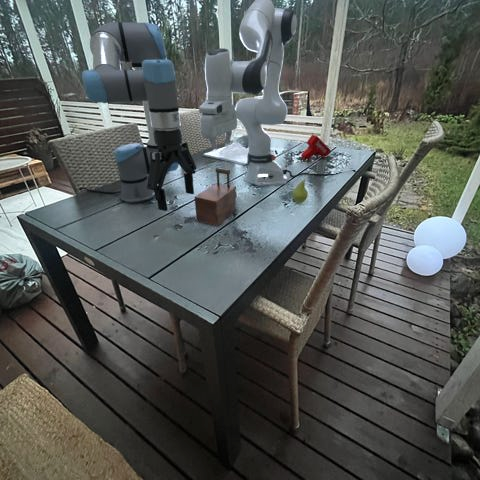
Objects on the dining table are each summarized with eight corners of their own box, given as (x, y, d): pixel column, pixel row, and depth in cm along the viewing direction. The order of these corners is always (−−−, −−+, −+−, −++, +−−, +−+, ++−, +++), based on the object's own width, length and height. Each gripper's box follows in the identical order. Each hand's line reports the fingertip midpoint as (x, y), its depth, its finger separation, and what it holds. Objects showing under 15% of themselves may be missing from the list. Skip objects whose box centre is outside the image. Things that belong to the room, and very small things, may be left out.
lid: (216, 185, 115) (215, 165, 110) (236, 188, 111) (235, 169, 106) (194, 199, 103) (192, 178, 98) (216, 203, 99) (215, 182, 94)
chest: (216, 205, 119) (215, 185, 114) (235, 209, 115) (235, 189, 110) (196, 220, 108) (194, 199, 103) (217, 225, 104) (216, 203, 99)
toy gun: (302, 156, 169) (316, 135, 166) (298, 155, 172) (312, 134, 169) (317, 170, 180) (331, 150, 177) (313, 169, 183) (326, 149, 180)
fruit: (288, 200, 123) (290, 174, 116) (302, 197, 125) (305, 172, 119) (296, 206, 118) (299, 179, 111) (310, 203, 120) (314, 177, 114)
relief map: (245, 164, 167) (245, 156, 164) (203, 155, 185) (203, 148, 182) (268, 154, 185) (268, 147, 183) (228, 147, 203) (228, 140, 200)
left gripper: (145, 139, 62) (160, 220, 73) (203, 122, 81) (208, 189, 92) (121, 136, 65) (139, 215, 76) (183, 120, 84) (190, 185, 95)
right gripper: (226, 101, 104) (227, 139, 111) (195, 108, 88) (199, 151, 96) (241, 102, 101) (241, 141, 109) (212, 109, 86) (214, 153, 93)
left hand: (177, 201), depth 84 cm, fingers open, 13 cm apart
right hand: (221, 146), depth 102 cm, fingers open, 8 cm apart
